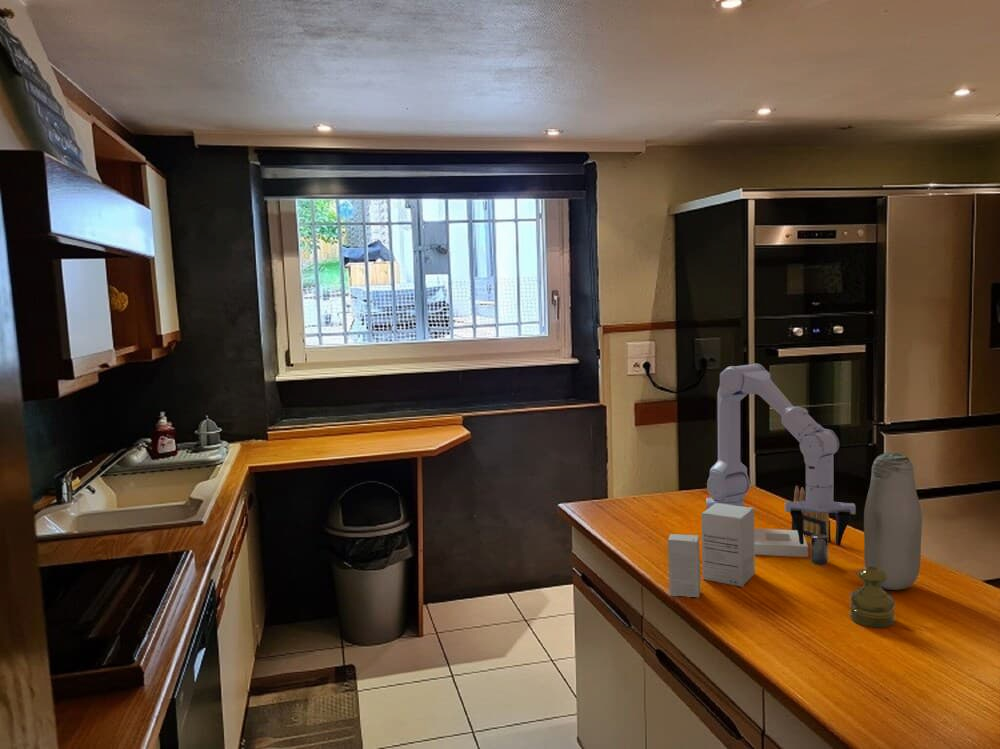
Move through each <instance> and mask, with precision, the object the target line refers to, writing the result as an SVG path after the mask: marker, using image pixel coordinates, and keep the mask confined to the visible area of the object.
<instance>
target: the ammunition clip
mask: <svg viewBox="0 0 1000 749" xmlns="http://www.w3.org/2000/svg"><path fill="white" fill-rule="evenodd" d="M799 489H800V490H799ZM793 494H794V495H793V496H794V497H793V502H794V501H806V491H805V489H804V487H803V486H802V487H801V488H799V486H798V485H796V486H795V489H794V493H793ZM802 513H803V534H804V536H805V535H807V536H806V537H808V536H810V537H809V538H811V535H813V534H822V535H826V536H828V542H830V541H832V539H831V521H830V519H829V518H830V516H829V514H830V513H826V512H802ZM791 530H797V528H796V525H795V523H794V520H793V518H792V517H791Z"/></svg>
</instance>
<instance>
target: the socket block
mask: <svg viewBox="0 0 1000 749" xmlns="http://www.w3.org/2000/svg"><path fill="white" fill-rule="evenodd" d="M803 538H804V544H800V542H799V535H798V531H797V530H792V529H773V528H754V550H755V555H757V556H758V555H759V556H775V557H776V556H779V557H798V558H799V557H800V558H808V557H809V545H808V542H807V541H806V538H805V535H803Z"/></svg>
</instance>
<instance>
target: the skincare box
mask: <svg viewBox="0 0 1000 749" xmlns="http://www.w3.org/2000/svg"><path fill="white" fill-rule="evenodd" d="M667 552H668V554H667V555H668V584H669V585H668V586H669V587H668V588H669V593H668V594H669V596H670V597H677V596H687V597H686V598H690V597H697V598H696V599H700V595H701V565H700V561H701V560H700V537H699V535H695V534H690V535H689V534H675V533H670V535H669V537H668V539H667Z"/></svg>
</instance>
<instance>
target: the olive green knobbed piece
mask: <svg viewBox="0 0 1000 749" xmlns="http://www.w3.org/2000/svg"><path fill="white" fill-rule="evenodd" d="M857 576H858V577H859V578H860V579H861V580H862V581H863V583H864V584H863V585H861V587H859V588H858V589H855V590H853V591H852V592H851V593H850V595H849V600H850V602H851V604H850V605H849V609H850V611H849V612H850V614H849V615H850V616H849V617H850V619H851V620H852V621H853V622H855V623H857V624H859V625H861V626H864V627H869V628H877V629H880V628H881V629H883V628H889V627H891V626H893V625H894V624H895V610H894V609H893V608H895V599H894V598H893V596H892V595H890V594H889V593H887V591H886V590H885V589H884V588H882V587H881V586H880V584H881V583H882V582H883V581H885V580H886V579H887V574H886V573H885V572H883V571H881V570H879V569H877V568H876V567H867V568H866V567H864V568H862V569H858V570H857Z"/></svg>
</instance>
